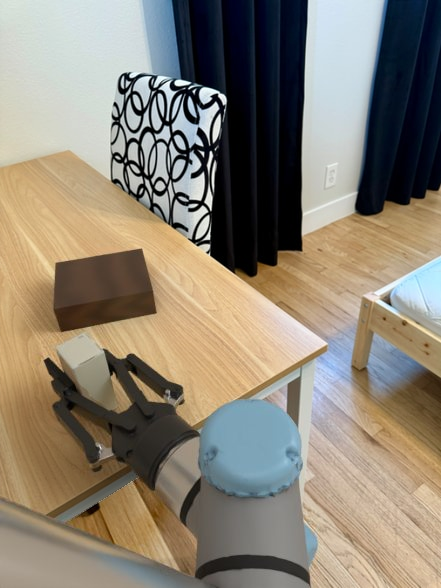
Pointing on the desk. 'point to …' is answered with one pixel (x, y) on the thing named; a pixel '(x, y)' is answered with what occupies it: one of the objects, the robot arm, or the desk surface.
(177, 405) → the robot arm
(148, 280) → the block
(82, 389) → the box
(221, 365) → the desk surface
